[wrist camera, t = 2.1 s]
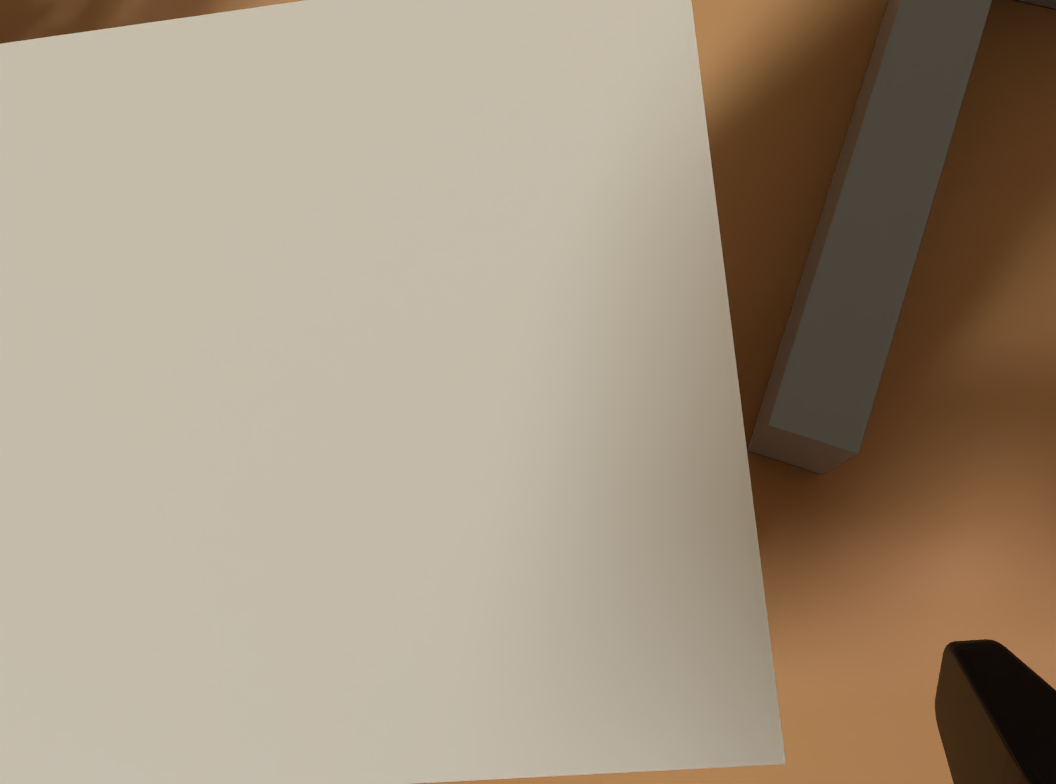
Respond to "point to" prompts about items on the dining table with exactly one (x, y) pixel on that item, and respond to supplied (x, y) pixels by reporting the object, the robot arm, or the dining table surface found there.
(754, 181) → the dining table surface
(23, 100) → the post
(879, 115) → the frame
